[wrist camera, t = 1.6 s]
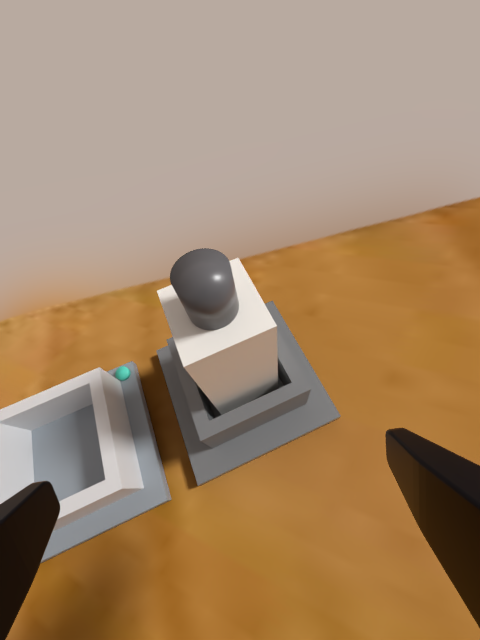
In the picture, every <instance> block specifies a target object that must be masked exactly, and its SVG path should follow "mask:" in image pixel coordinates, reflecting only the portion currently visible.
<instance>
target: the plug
mask: <svg viewBox="0 0 480 640" xmlns="http://www.w3.org/2000/svg"><path fill="white" fill-rule="evenodd" d="M170 281H171V284H172V285H170V286H168V287H165V288H163V289H160V290H158V291H157V293H158V295H159V298H160V301H161V304H162V307H163V310H164V313H165V316H166V318H167V321H168V324H169V327H170V330H171V333H172V336H173V338H174V341H175V344H176V347H177V350H178V353H179V356H180V359H181V361H182V364H183V367H184V368H185V370H186V371H187V372H188V373H189V375H190V376H191V377H192V378H193V380H194V381H195V382H196V383H197V385H198V386H199V387H200V388H201V390H202V391H203V392H204V393H205V395H206V396H207V397H208V398H209V400H210V401H211V402H212V403H213V405H214V406H215V407H216V408H217V410H218V411H219V412H220V413H221V415H223V414H225V413H227V412H229V411H232V410H234V409H236V408H238V407H240V406H242V405H244V404H247V403H249V402H251V401H253V400H255V399H257V398H260V397H262V396H264V395H266V394H268V393H270V392H272V391H275V390H277V389H278V353H277V325H276V323H275V321H274V320H273V318H272V316H271V314H270V313H269V311H268V309H267V307H266V306H265V304H264V302H263V300H262V299H261V297H260V295H259V293H258V292H257V290H256V288H255V286H254V285H253V283H252V281H251V279H250V278H249V276H248V274H247V272H246V271H245V269H244V267H243V265H242V264H241V262H240V260H239V258H236V259H234V260H231V261H229V260H228V258H227V257H226V256H225V255H224V254H222V253H221V252H219V251H217V250H213V249H206V248H205V249H197V250H193V251H190V252H188V253H186V254H185V255H183V256H182V257H180V258H179V259H178V260H177V261H176V262H175V264H174V266H173V267H172V270H171V273H170Z"/></svg>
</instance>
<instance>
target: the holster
mask: <svg viewBox="0 0 480 640" xmlns="http://www.w3.org/2000/svg"><path fill="white" fill-rule="evenodd" d="M265 306H266V307H267V309H268V311H269V313H270V314H271V316H272V318H273V320H274V321H275V323H276V325H277V353H278V389H277V390H275V391H272V392H270V393H268V394H266V395H264V396H262V397H260V398H257V399H255V400H253V401H251V402H249V403H247V404H244V405H242V406H240V407H238V408H236V409H234V410H232V411H229V412H227V413H225V414H223V415H221V413H220V412H219V411H218V410H217V408H216V407H215V406H214V405H213V403H212V402H211V401H210V400H209V398H208V397H207V396H206V395H205V393H204V392H203V391H202V390H201V388H200V387H199V386H198V385H197V383H196V382H195V381H194V380H193V378H192V377H191V376H190V375H189V373H188V372H187V371H186V370H185V368H184V367H183V364H182V361H181V359H180V356H179V353H178V350H177V347H176V344H175V341H174V338H173V337H172V338H170V339H167V343H168V346H166V347H164V348H161V349H159V350H157V354H158V357H159V361H160V364H161V367H162V370H163V374H164V377H165V380H166V383H167V387H168V390H169V393H170V396H171V400H172V403H173V406H174V410H175V413H176V416H177V419H178V423H179V426H180V429H181V432H182V436H183V439H184V442H185V445H186V449H187V452H188V455H189V458H190V462H191V465H192V468H193V471H194V475H195V478H196V481H197V484H198V486H201V485H203V484H205V483H207V482H209V481H211V480H213V479H215V478H217V477H219V476H221V475H224V474H226V473H228V472H230V471H232V470H234V469H236V468H238V467H240V466H242V465H244V464H246V463H248V462H250V461H252V460H254V459H256V458H259V457H261V456H263V455H265V454H267V453H269V452H271V451H273V450H275V449H277V448H279V447H281V446H283V445H285V444H287V443H289V442H291V441H294V440H296V439H298V438H300V437H302V436H304V435H306V434H308V433H310V432H312V431H314V430H316V429H318V428H320V427H322V426H324V425H326V424H329V423H331V422H333V421H335V420H337V419H339V418H340V414H339V412H338V411H337V409H336V407H335V406H334V404H333V402H332V401H331V399H330V397H329V395H328V394H327V392H326V390H325V389H324V387H323V385H322V384H321V382H320V380H319V379H318V377H317V375H316V373H315V372H314V370H313V368H312V367H311V365H310V363H309V362H308V360H307V358H306V357H305V355H304V353H303V352H302V350H301V348H300V346H299V345H298V343H297V341H296V340H295V338H294V336H293V335H292V333H291V331H290V330H289V328H288V326H287V325H286V323H285V321H284V319H283V318H282V316H281V314H280V313H279V311H278V309H277V308H276V306H275V304H274V303H273V301H270V302H268V303H266V304H265Z"/></svg>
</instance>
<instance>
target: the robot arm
mask: <svg viewBox="0 0 480 640" xmlns="http://www.w3.org/2000/svg"><path fill="white" fill-rule="evenodd" d="M386 455H387V461H388V464H389V467H390V469H391V471H392V473H393V475H394V477H395V479H396V481H397V483H398V485H399V487H400V489H401V491H402V493H403V496H404V498H405V500H406V502H407V504H408V506H409V508H410V510H411V512H412V514H413V516H414V518H415V520H416V522H417V524H418V526H419V528H420V530H421V532H422V533H423V535H424V537H425V538H426V540H427V542H428V543H429V545H430V547H431V548H432V550H433V552H434V553H435V555H436V557H437V558H438V560H439V562H440V563H441V565H442V567H443V568H444V570H445V571H446V573H447V575H448V576H449V578H450V580H451V581H452V583H453V585H454V586H455V588H456V590H457V591H458V593H459V595H460V596H461V598H462V600H463V601H464V603H465V604H466V606H467V608H468V609H469V611H470V613H471V614H472V616H473V618H474V619H475V621H476V623H477V624H478V626H479V628H480V466H479V465H477V464H475V463H473V462H471V461H469V460H467V459H465V458H463V457H461V456H459V455H457V454H455V453H453V452H451V451H449V450H447V449H445V448H443V447H441V446H439V445H437V444H435V443H433V442H431V441H429V440H427V439H425V438H423V437H421V436H419V435H417V434H415V433H413V432H411V431H409V430H407V429H405V428H395V429H389V430H387V431H386ZM59 513H60V503H59V500H58V498H57V495H56V493H55V491H54V488H53V486H52V484H51V483H50V482H49V481H40V482H34V483H31V484H30V485H28V486H27V487H25V488H24V489H22V490H21V491H19V492H18V493H16V494H15V495H13V496H12V497H10V498H9V499H7V500H6V501H4V502H3V503H1V504H0V640H5V639H6V637H7V635H8V633H9V631H10V629H11V627H12V625H13V623H14V621H15V618H16V616H17V614H18V612H19V610H20V608H21V606H22V604H23V602H24V600H25V598H26V595H27V593H28V591H29V589H30V587H31V585H32V582H33V580H34V578H35V575H36V573H37V570H38V568H39V565H40V563H41V560H42V558H43V555H44V552H45V550H46V547H47V545H48V542H49V540H50V537H51V534H52V532H53V529H54V527H55V524H56V521H57V519H58V516H59Z"/></svg>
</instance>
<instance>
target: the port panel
mask: <svg viewBox="0 0 480 640" xmlns="http://www.w3.org/2000/svg"><path fill="white" fill-rule="evenodd" d="M40 481H49V482H50V483H51V484H52V486H53V488H54V491H55V493H56V495H57V498H58V500H59V503H60V513H59V516H58V519H57V521H56V524H55V527H54V529H53V532H52V534H51V537H50V540H49V542H48V545H47V547H46V550H45V552H44V555H43V558H42V560H41V563H42V562H44V561H47V560H49V559H51V558H53V557H55V556H57V555H59V554H61V553H63V552H65V551H67V550H69V549H71V548H73V547H75V546H77V545H79V544H82V543H84V542H86V541H88V540H90V539H92V538H94V537H96V536H98V535H100V534H102V533H104V532H106V531H108V530H110V529H112V528H114V527H117V526H119V525H121V524H123V523H125V522H127V521H129V520H131V519H133V518H135V517H137V516H139V515H141V514H143V513H145V512H147V511H149V510H152V509H154V508H156V507H158V506H160V505H162V504H164V503H166V502H168V501H170V500H171V496H170V492H169V488H168V485H167V481H166V477H165V473H164V469H163V465H162V462H161V458H160V454H159V450H158V446H157V442H156V438H155V435H154V431H153V427H152V423H151V419H150V415H149V412H148V408H147V404H146V400H145V396H144V392H143V389H142V385H141V381H140V377H139V373H138V369H137V365H136V364H135V363H134V362H132V361H131V362H129V363H126V364H124V365H122V366H119V367H117V368H115V369H112V370H110V371H108V372H106V371H104V370H103V369H101V368H100V367H99V368H96V369H94V370H92V371H89V372H87V373H85V374H82V375H80V376H78V377H75V378H73V379H71V380H68V381H66V382H64V383H61V384H59V385H57V386H54V387H52V388H50V389H47V390H45V391H43V392H40V393H38V394H36V395H33V396H31V397H29V398H26V399H24V400H22V401H19V402H17V403H15V404H12V405H10V406H8V407H5V408H3V409H1V410H0V504H1V503H3V502H4V501H6V500H7V499H9V498H10V497H12V496H13V495H15V494H16V493H18V492H19V491H21V490H22V489H24V488H25V487H27V486H28V485H30V484H31V483H34V482H40Z"/></svg>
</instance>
